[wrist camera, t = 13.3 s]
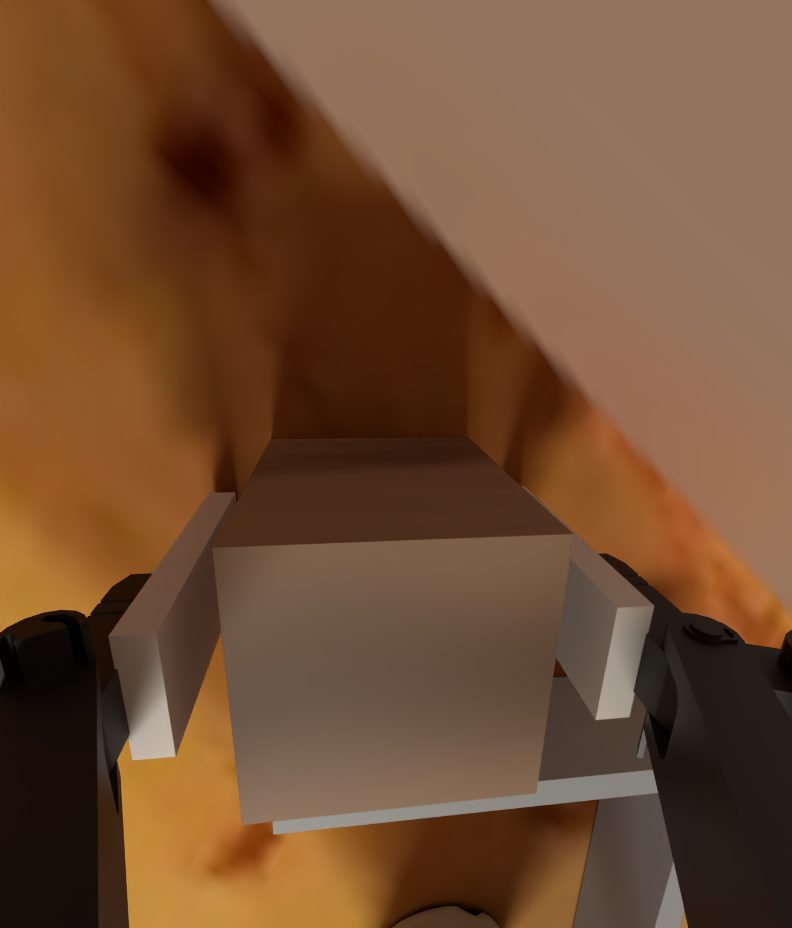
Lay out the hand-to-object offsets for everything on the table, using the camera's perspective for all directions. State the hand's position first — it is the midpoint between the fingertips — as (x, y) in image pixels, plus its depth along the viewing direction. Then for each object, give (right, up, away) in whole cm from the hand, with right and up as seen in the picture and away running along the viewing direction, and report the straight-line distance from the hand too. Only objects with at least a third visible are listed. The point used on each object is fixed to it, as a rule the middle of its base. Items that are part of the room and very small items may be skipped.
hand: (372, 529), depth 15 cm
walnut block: (0, 0, 0) cm, 0 cm away
